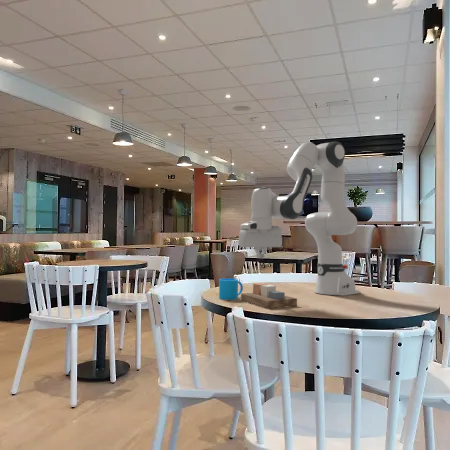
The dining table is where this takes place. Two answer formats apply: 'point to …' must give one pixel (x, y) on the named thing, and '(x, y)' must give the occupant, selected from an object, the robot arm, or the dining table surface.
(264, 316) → the dining table surface
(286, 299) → the wooden pallet
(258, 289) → the terracotta cube
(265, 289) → the cream cube
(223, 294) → the mug
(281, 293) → the blue-grey cube
